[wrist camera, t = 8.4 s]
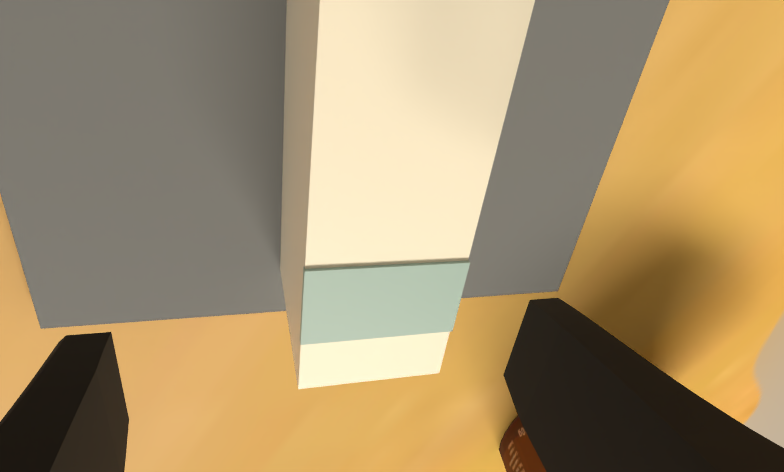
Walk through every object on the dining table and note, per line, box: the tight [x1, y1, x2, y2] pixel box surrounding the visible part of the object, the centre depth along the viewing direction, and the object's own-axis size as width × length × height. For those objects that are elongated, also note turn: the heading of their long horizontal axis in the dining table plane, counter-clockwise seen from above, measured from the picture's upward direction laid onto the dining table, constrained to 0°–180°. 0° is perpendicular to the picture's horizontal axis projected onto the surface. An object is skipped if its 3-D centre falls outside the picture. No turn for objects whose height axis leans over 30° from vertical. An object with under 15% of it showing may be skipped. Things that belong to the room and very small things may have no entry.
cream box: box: [280, 0, 535, 389], centre depth 15 cm, size 4×11×6 cm, turn 172°
